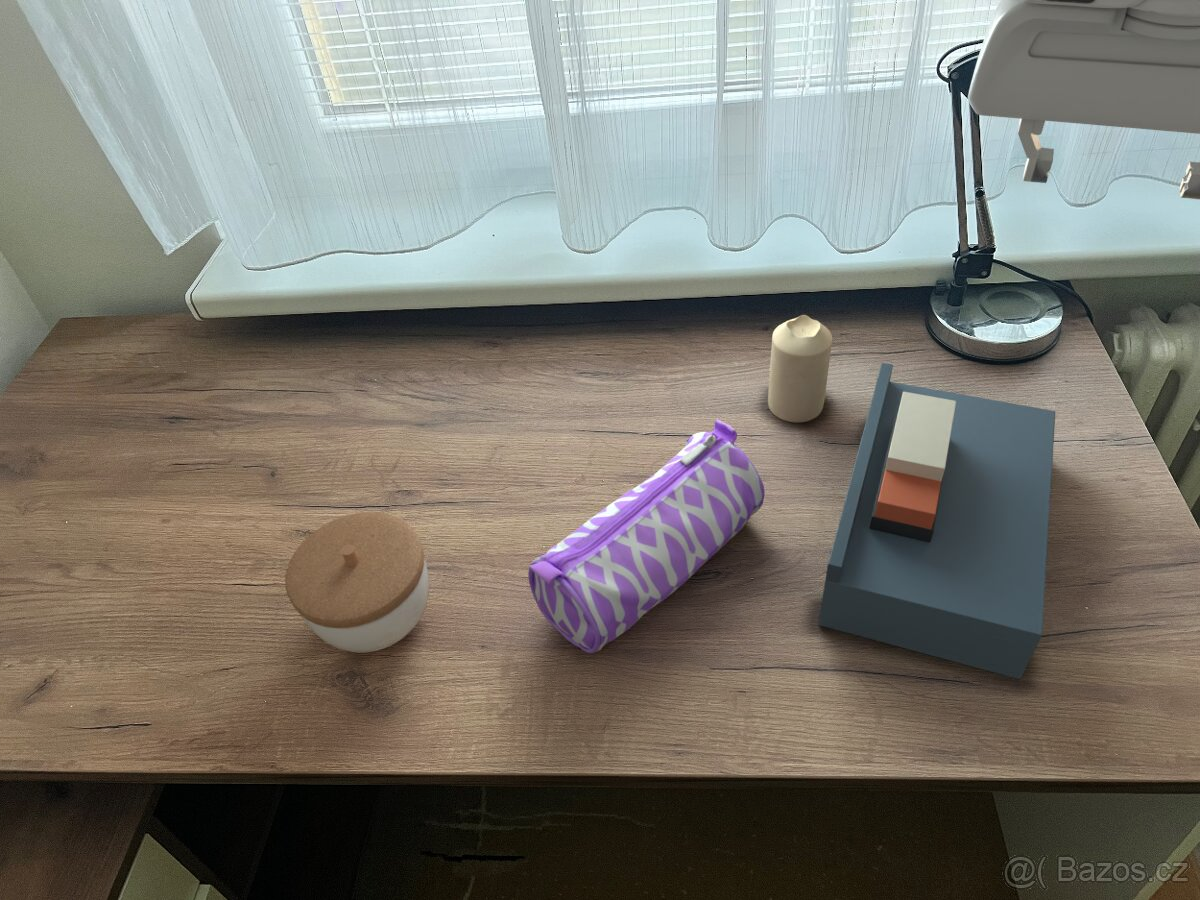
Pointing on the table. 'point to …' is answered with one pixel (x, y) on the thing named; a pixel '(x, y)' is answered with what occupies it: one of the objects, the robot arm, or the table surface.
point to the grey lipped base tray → (951, 539)
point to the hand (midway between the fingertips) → (1111, 186)
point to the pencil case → (647, 541)
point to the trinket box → (360, 581)
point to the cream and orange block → (914, 467)
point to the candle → (799, 369)
